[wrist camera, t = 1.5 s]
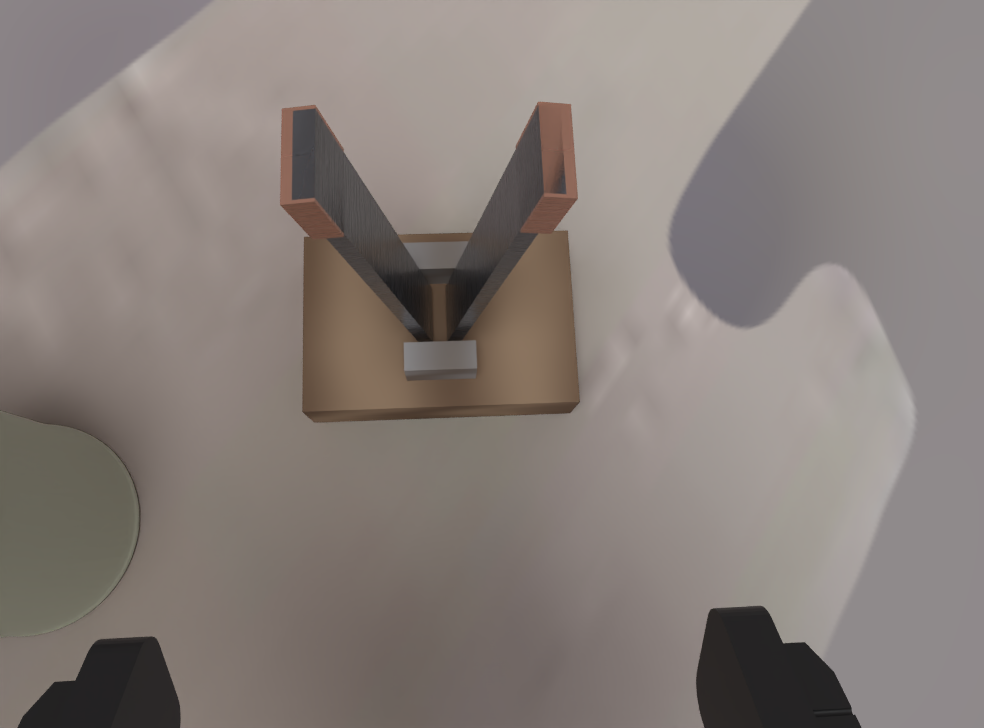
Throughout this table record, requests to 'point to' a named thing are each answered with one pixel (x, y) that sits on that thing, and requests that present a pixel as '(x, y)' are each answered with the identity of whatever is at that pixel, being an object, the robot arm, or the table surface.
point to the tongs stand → (439, 340)
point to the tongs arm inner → (349, 217)
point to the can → (59, 525)
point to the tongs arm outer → (515, 214)
